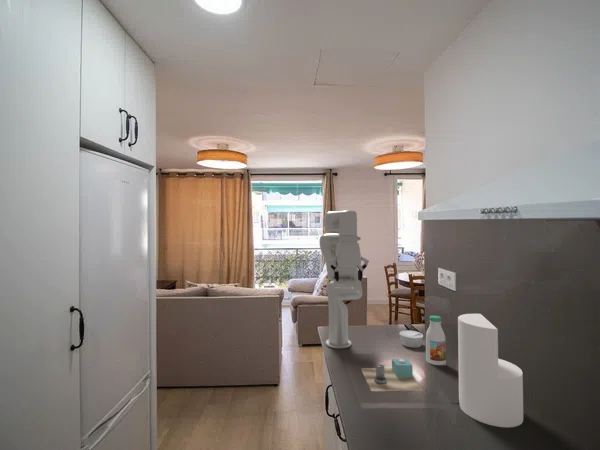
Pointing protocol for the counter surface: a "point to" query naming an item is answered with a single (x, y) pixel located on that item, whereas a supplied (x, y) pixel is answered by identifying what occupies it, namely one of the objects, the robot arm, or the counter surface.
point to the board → (390, 381)
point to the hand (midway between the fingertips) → (348, 280)
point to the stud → (380, 375)
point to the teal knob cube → (402, 368)
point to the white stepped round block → (487, 375)
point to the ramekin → (411, 338)
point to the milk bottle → (435, 342)
